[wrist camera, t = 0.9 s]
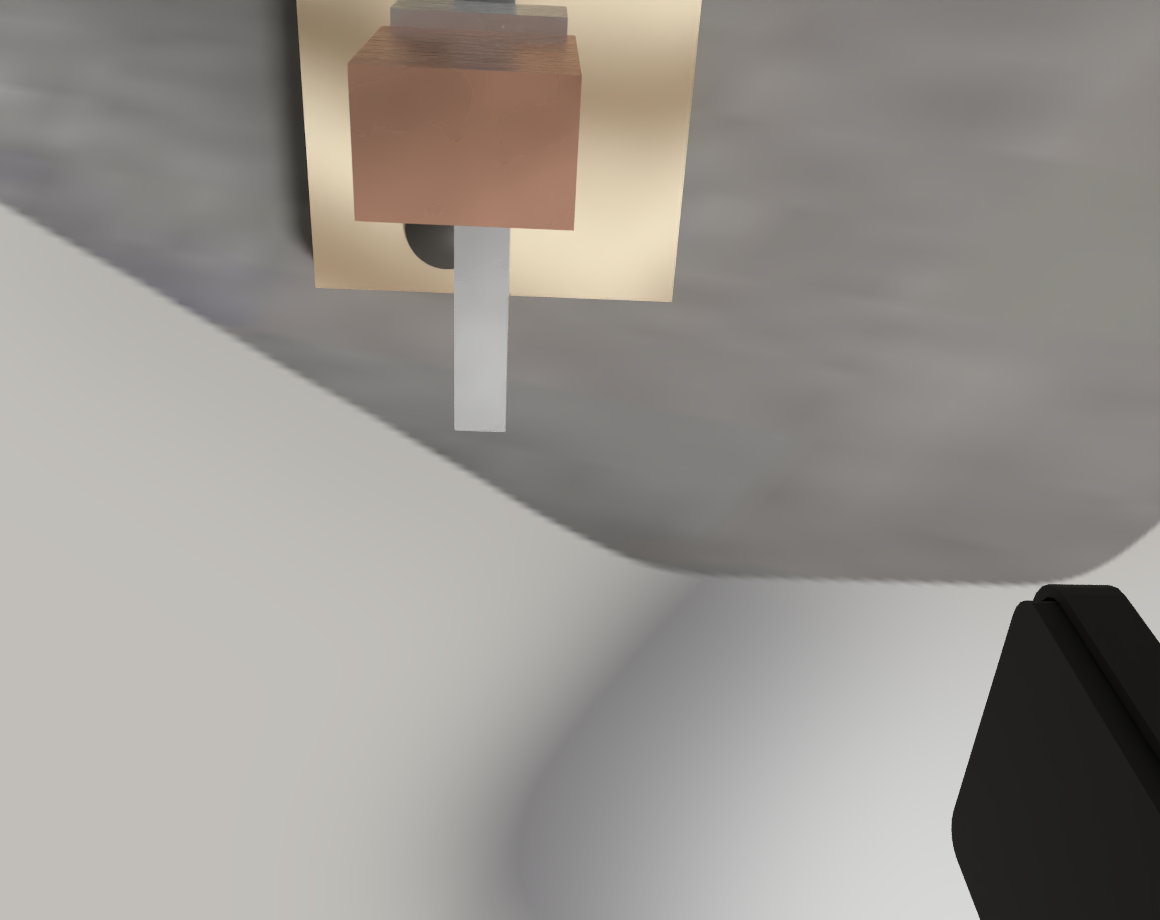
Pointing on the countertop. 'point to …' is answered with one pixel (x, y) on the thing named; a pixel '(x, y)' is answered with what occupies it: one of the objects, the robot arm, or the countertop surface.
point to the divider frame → (481, 323)
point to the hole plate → (604, 168)
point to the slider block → (467, 116)
